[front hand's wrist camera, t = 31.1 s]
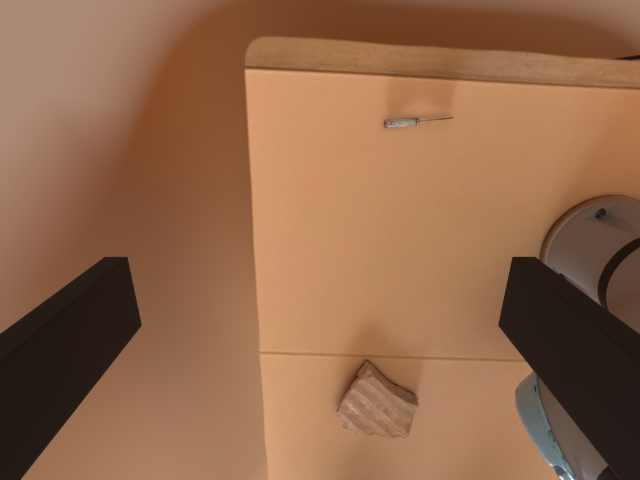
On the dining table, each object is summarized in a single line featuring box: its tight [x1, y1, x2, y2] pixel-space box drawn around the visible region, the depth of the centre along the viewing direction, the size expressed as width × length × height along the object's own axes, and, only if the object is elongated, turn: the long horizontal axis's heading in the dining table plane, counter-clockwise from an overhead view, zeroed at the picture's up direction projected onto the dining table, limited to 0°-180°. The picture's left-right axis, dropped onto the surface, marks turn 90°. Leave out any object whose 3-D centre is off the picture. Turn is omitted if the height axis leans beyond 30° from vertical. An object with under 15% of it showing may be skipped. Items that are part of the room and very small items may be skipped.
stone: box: [336, 361, 419, 438], centre depth 58 cm, size 13×12×2 cm
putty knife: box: [384, 117, 454, 128], centre depth 43 cm, size 1×8×2 cm, turn 96°
